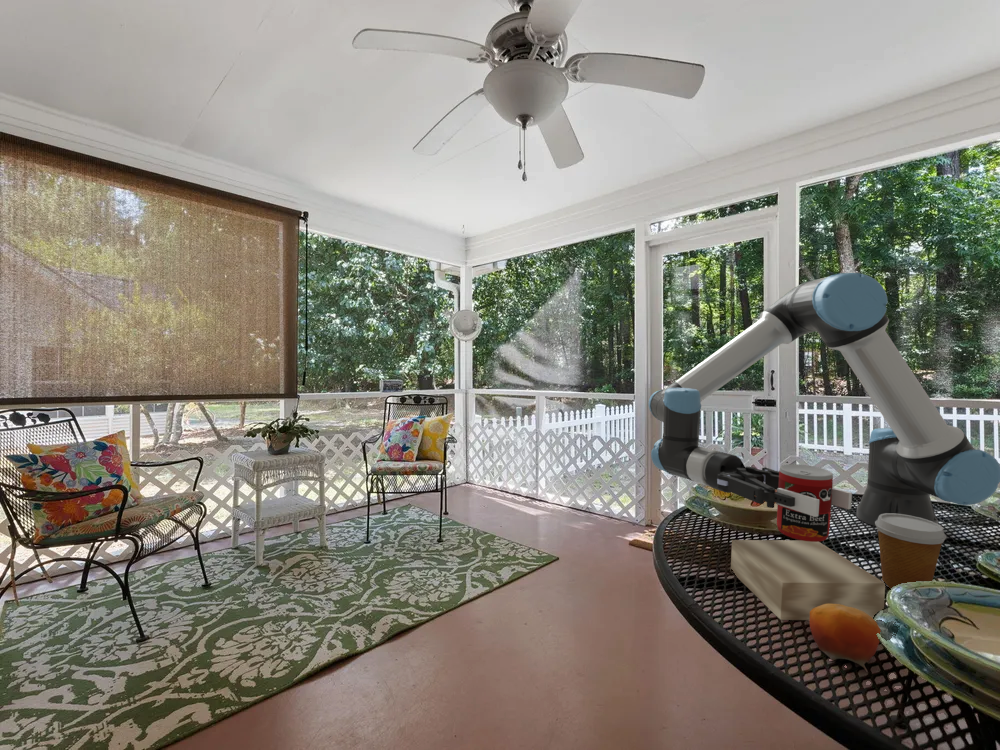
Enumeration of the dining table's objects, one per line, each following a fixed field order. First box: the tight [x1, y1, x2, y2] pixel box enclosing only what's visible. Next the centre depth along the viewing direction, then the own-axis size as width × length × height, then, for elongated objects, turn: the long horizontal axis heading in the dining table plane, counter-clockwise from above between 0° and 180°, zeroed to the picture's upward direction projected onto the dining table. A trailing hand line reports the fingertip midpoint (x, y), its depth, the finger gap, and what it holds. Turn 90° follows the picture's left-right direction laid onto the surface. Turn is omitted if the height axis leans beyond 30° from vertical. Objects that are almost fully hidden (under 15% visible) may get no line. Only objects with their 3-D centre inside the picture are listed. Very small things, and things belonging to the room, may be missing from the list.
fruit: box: [808, 603, 882, 674], centre depth 66 cm, size 8×8×8 cm
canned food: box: [776, 463, 834, 543], centre depth 81 cm, size 8×8×11 cm
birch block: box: [730, 539, 886, 621], centre depth 82 cm, size 16×16×6 cm
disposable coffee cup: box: [875, 513, 947, 589], centre depth 84 cm, size 10×10×12 cm
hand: (834, 504), depth 77 cm, fingers closed on canned food, 8 cm apart
